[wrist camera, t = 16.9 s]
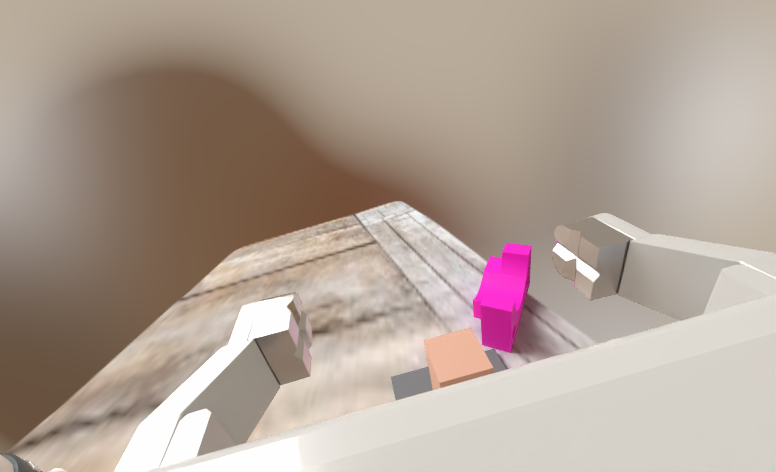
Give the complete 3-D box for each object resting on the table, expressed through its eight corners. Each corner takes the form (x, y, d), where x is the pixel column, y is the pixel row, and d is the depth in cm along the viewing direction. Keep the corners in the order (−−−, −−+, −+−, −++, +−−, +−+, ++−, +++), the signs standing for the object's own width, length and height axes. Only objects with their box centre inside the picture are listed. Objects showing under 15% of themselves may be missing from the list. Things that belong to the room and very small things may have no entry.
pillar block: (449, 443, 32) (439, 382, 27) (434, 399, 37) (423, 340, 32) (495, 430, 33) (493, 367, 28) (475, 388, 37) (470, 327, 32)
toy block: (490, 277, 55) (490, 241, 52) (529, 283, 52) (531, 245, 48) (464, 340, 44) (461, 300, 41) (510, 353, 41) (511, 311, 38)
